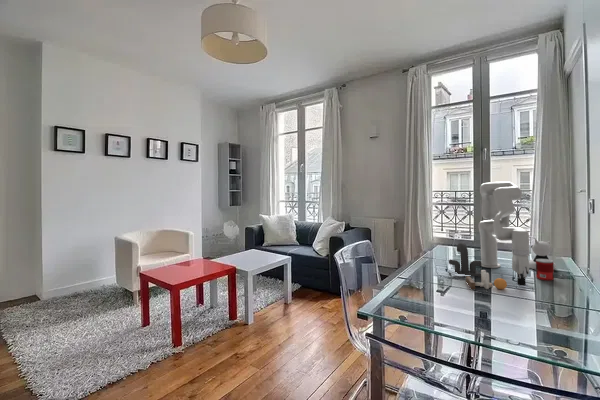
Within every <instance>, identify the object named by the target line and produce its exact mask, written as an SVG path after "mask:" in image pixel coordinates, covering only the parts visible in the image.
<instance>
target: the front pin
mask: <svg viewBox="0 0 600 400" xmlns="http://www.w3.org/2000/svg"><path fill="white" fill-rule="evenodd" d="M474 282H475V281H474ZM493 285H494V284H493V283H492V282H489V288H493V287H494V286H493ZM475 286H480V288H484V283H482V282H478V281H477V282H475Z"/></svg>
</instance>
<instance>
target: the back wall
mask: <svg viewBox="0 0 600 400" xmlns="http://www.w3.org/2000/svg"><path fill="white" fill-rule="evenodd" d="M472 278H473V277H470V276H466V277H465V283H466V282H467V283H468V285H469V286H470V287H471V289H476V287H475V280H474V279H472ZM467 283H466V284H467ZM468 285H467V286H468ZM469 286H468V287H469ZM470 287H469V288H470ZM471 289H470V290H471Z"/></svg>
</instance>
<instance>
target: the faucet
mask: <svg viewBox="0 0 600 400" xmlns="http://www.w3.org/2000/svg"><path fill="white" fill-rule="evenodd" d="M456 252H457V253H459V254H460V262H459V261H458V260H456V259H449V260H448V264H449V265H451V266H454V270H455V272H457V273H458V274H465V275H471V276H478V277H477V278H481V272H479V271H478V270H477V269H476V267H482V266H481V265H482V263H481V260H472V261H470V263H469V250H468V246H467V245H466V243H464V242H463V241H462V242H459V243H457V244H456Z"/></svg>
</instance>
